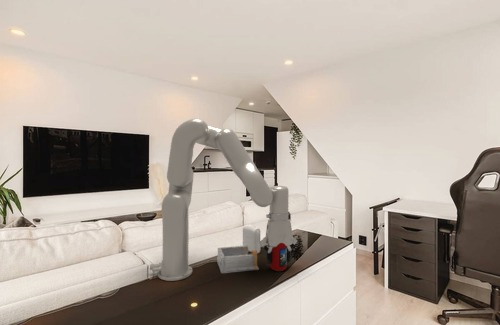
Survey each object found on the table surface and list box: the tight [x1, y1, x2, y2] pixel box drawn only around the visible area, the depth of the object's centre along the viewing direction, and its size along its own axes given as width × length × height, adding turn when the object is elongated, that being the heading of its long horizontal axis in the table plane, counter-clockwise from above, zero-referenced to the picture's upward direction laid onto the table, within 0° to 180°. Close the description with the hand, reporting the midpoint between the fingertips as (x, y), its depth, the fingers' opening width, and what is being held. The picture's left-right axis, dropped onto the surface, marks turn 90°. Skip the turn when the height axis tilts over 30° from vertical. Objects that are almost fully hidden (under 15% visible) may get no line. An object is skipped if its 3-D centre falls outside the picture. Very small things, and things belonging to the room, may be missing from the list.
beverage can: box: [269, 243, 288, 272], centre depth 104 cm, size 7×7×12 cm
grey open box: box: [216, 245, 260, 274], centre depth 107 cm, size 15×14×7 cm
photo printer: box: [242, 224, 261, 254], centre depth 125 cm, size 10×4×12 cm, turn 39°
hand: (278, 260), depth 104 cm, fingers closed on beverage can, 6 cm apart
